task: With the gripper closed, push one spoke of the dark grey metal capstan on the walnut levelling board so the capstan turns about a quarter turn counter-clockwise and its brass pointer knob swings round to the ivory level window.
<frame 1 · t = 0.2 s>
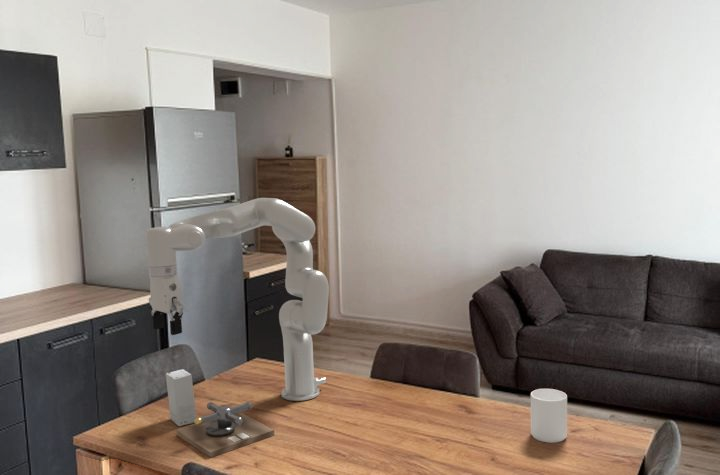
hand: (167, 331, 187), 31 cm above the table, fingers open, 9 cm apart
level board: (225, 435, 189), on the table
mug: (548, 434, 181), on the table
capstan: (224, 418, 188), point 5 cm above the table, hinge at 0.0°
skincare box: (182, 421, 201), on the table
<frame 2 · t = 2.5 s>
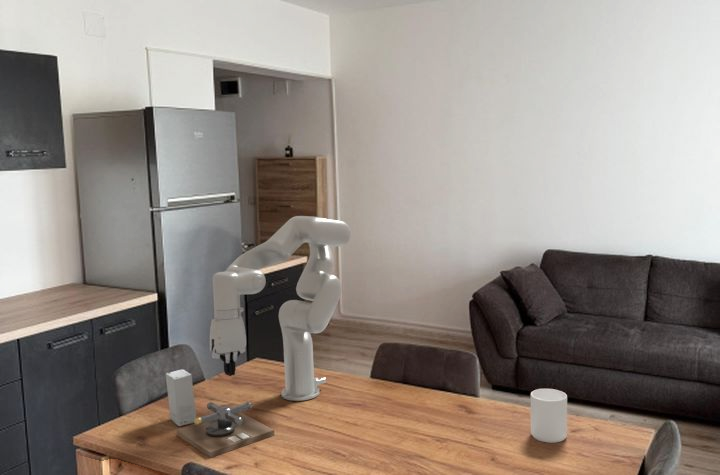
hand: (230, 374, 196), 15 cm above the table, fingers closed
nothing on the table moved.
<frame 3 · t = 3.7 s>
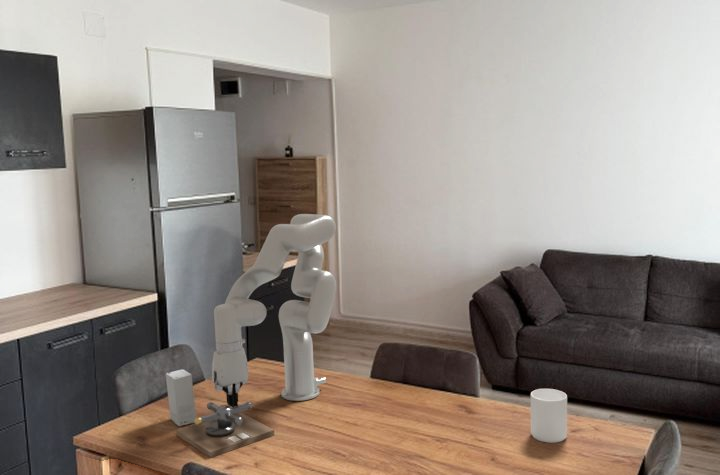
hand: (232, 405, 198), 5 cm above the table, fingers closed
nothing on the table moved.
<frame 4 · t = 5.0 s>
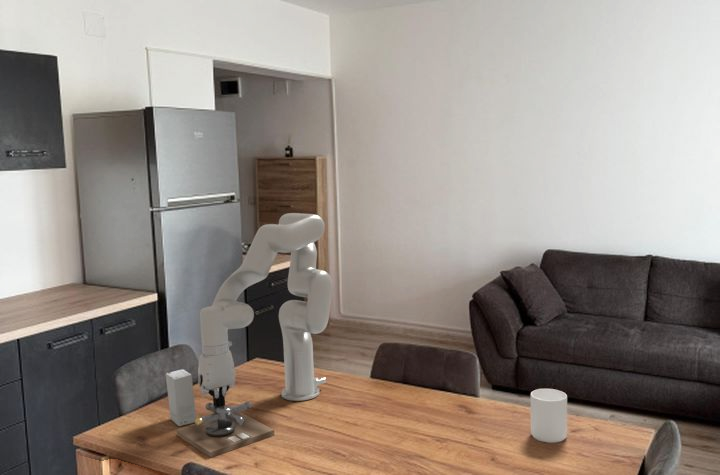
hand: (219, 409, 195), 5 cm above the table, fingers closed
capstan: (224, 418, 188), point 5 cm above the table, hinge at 3.0°, touching gripper
everything else where it was.
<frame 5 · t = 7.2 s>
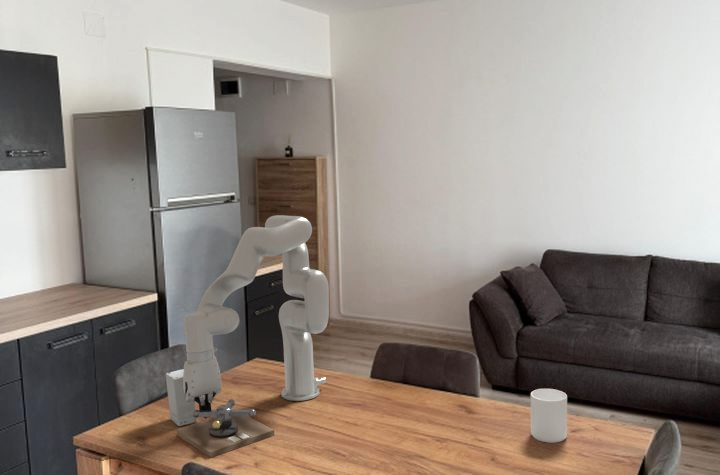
hand: (205, 416, 191), 5 cm above the table, fingers closed
capstan: (224, 418, 188), point 5 cm above the table, hinge at 46.1°, touching gripper
everything else where it was.
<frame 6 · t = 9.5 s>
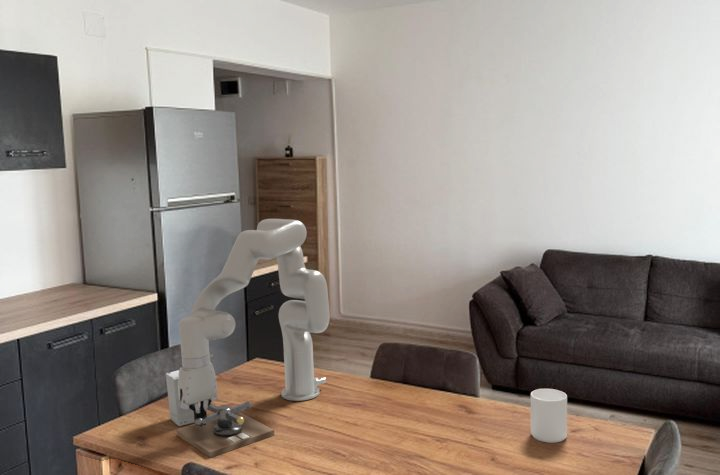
hand: (201, 424, 186), 5 cm above the table, fingers closed
capstan: (224, 418, 188), point 5 cm above the table, hinge at 93.8°
everything else where it was.
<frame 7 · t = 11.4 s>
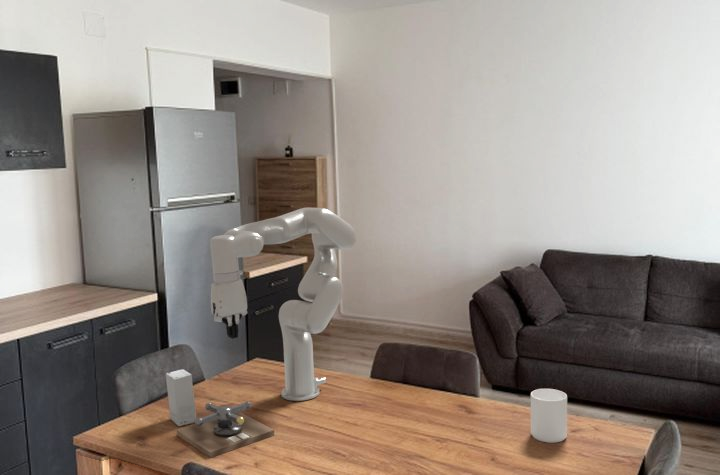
hand: (233, 337, 197), 25 cm above the table, fingers closed
nothing on the table moved.
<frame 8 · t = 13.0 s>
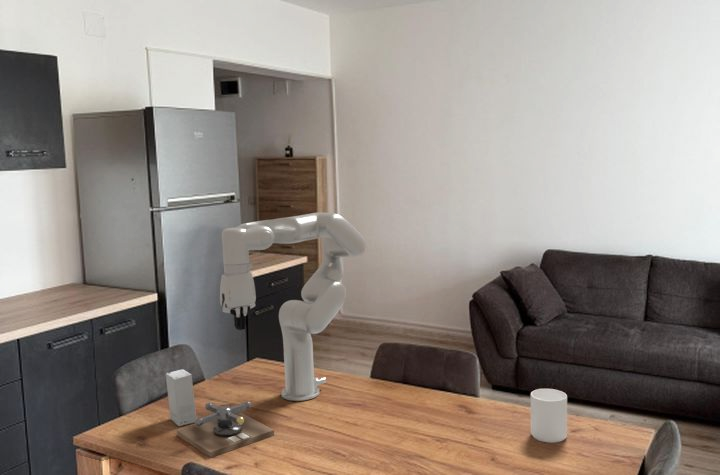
hand: (240, 328, 200), 27 cm above the table, fingers closed
nothing on the table moved.
at the end: capstan at +94° (first picture: +0°) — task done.
